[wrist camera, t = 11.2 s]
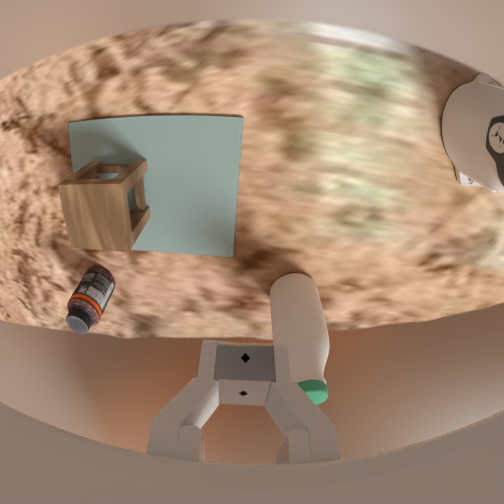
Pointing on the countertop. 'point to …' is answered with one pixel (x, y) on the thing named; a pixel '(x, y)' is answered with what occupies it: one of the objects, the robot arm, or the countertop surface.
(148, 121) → the mat
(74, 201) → the open wooden box
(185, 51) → the countertop surface
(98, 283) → the supplement bottle
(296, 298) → the milk bottle
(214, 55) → the countertop surface
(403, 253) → the countertop surface
